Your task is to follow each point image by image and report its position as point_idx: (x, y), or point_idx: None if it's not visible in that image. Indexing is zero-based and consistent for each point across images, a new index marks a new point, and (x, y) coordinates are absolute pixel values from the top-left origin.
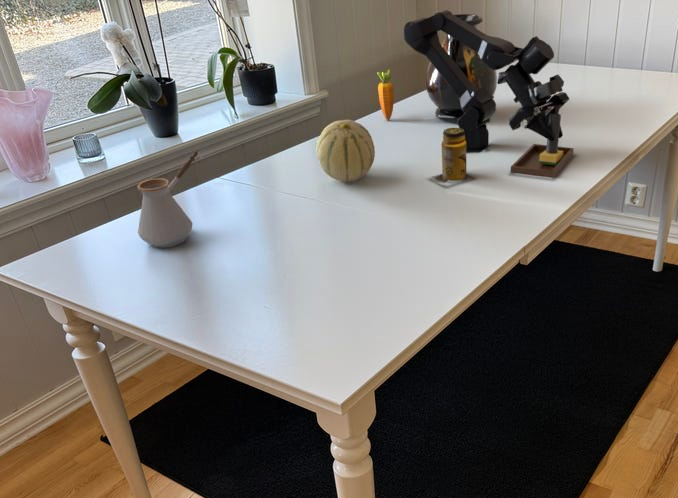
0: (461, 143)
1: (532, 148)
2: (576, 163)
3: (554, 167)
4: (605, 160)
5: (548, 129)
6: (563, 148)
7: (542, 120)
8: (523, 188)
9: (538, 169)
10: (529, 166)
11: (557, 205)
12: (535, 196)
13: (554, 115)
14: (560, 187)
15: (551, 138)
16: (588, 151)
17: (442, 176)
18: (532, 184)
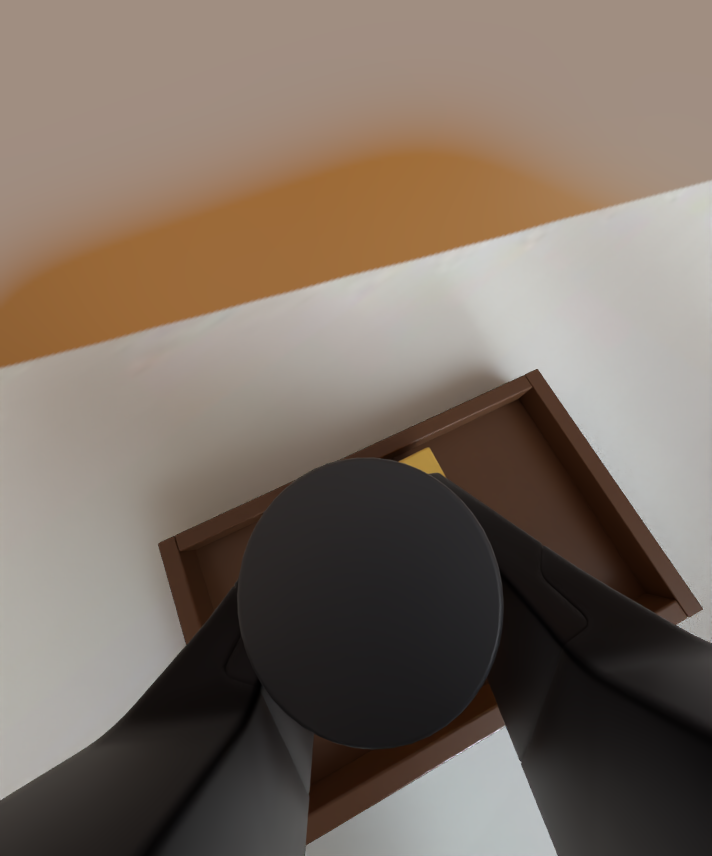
0: None
1: (332, 796)
2: (267, 453)
3: (492, 403)
4: (146, 381)
5: (515, 528)
6: (195, 599)
7: (688, 647)
8: (694, 412)
9: (582, 445)
10: None
11: (666, 220)
12: (694, 320)
13: (451, 536)
14: (545, 314)
15: None
16: (67, 529)
17: None
18: (629, 416)
